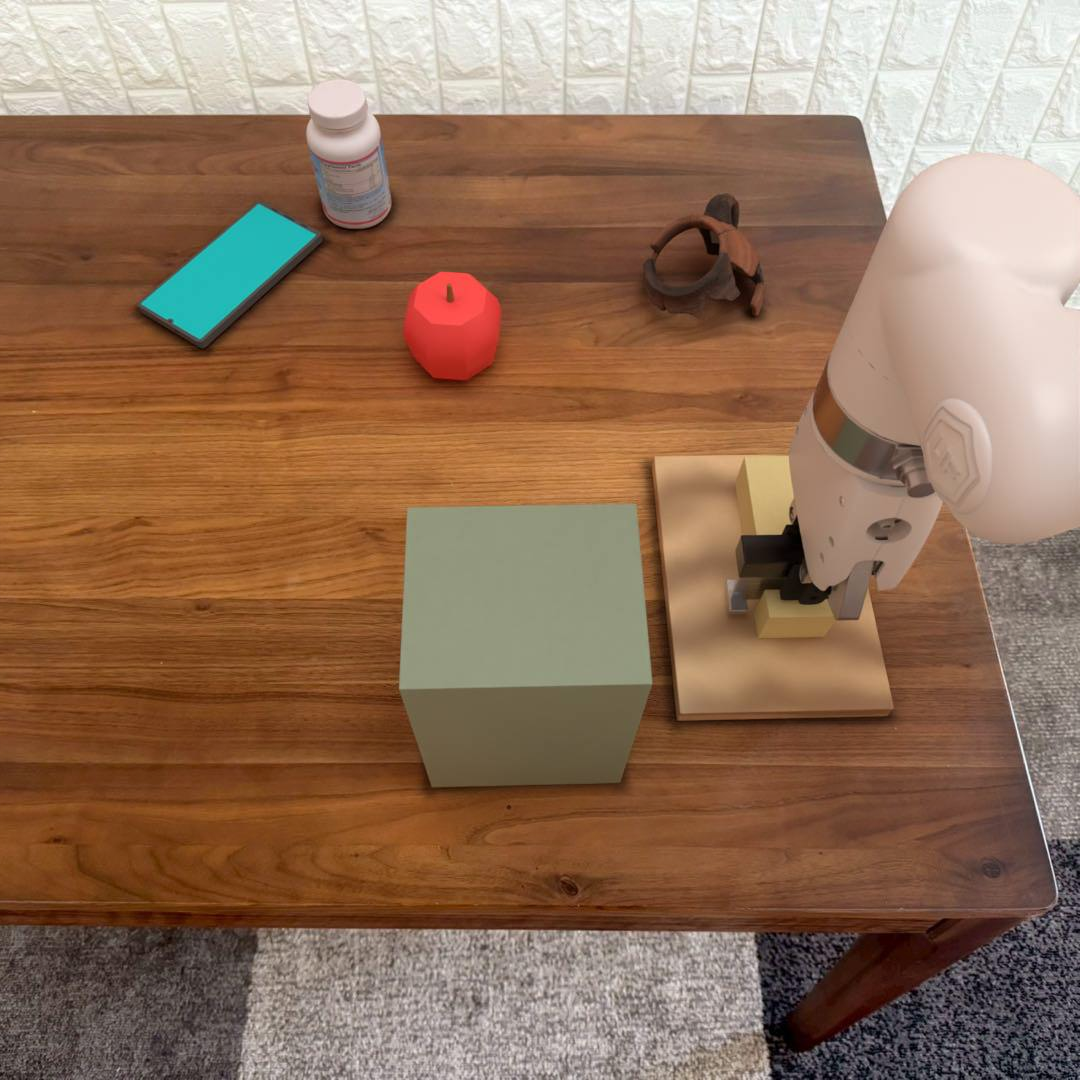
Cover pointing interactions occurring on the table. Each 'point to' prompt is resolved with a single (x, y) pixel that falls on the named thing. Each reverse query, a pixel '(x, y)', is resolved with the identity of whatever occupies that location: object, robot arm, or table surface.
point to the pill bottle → (347, 155)
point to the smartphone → (230, 273)
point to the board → (746, 617)
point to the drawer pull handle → (762, 567)
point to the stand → (524, 642)
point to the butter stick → (764, 494)
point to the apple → (452, 325)
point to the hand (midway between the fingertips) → (800, 575)
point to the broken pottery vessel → (719, 241)
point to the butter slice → (791, 617)
